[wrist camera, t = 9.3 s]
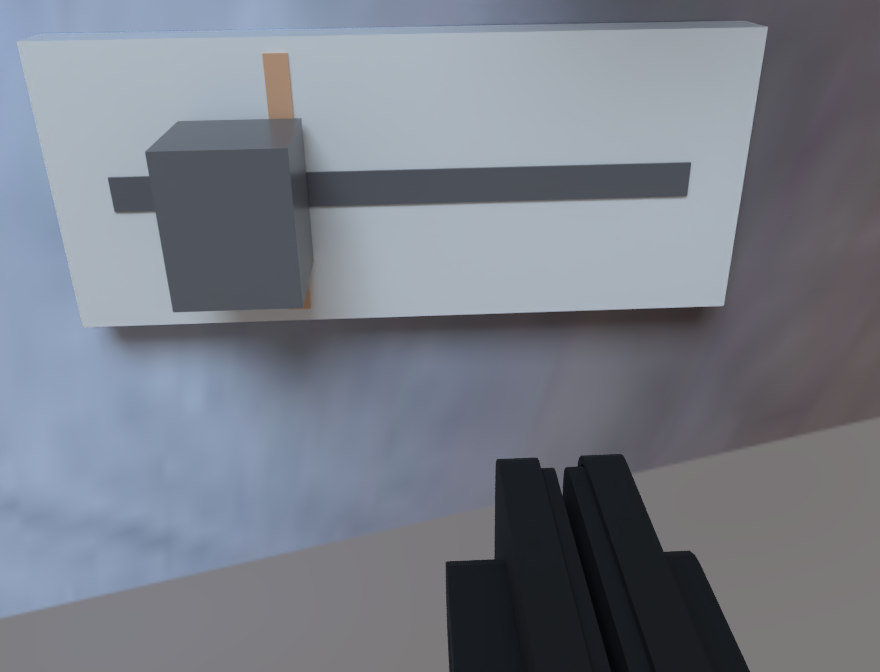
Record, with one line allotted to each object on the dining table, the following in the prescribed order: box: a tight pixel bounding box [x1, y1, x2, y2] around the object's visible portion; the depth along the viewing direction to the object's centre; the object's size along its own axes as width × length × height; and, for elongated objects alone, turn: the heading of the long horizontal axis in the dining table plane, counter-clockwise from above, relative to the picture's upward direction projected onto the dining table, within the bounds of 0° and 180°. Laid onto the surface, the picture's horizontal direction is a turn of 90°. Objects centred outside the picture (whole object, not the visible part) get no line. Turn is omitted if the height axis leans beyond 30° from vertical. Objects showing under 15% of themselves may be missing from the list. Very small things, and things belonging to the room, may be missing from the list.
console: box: [17, 21, 768, 327], centre depth 29 cm, size 24×10×2 cm, turn 91°
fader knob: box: [145, 118, 314, 312], centre depth 26 cm, size 4×5×4 cm
